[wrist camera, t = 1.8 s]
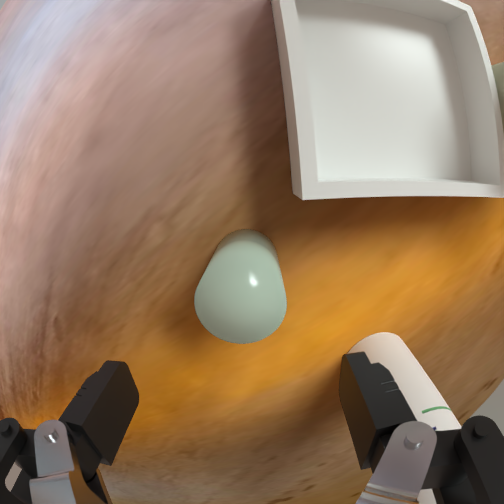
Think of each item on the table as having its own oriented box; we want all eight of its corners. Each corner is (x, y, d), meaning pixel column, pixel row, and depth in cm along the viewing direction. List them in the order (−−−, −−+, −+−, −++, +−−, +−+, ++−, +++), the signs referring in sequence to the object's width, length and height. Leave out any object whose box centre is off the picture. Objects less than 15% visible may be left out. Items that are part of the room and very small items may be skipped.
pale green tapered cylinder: (211, 231, 22) (187, 265, 15) (275, 226, 22) (284, 257, 14) (219, 290, 24) (202, 345, 16) (279, 286, 23) (288, 340, 16)
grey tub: (269, -5, 16) (271, -38, 11) (444, 22, 15) (470, 6, 11) (292, 193, 21) (302, 200, 16) (471, 190, 20) (506, 197, 16)
